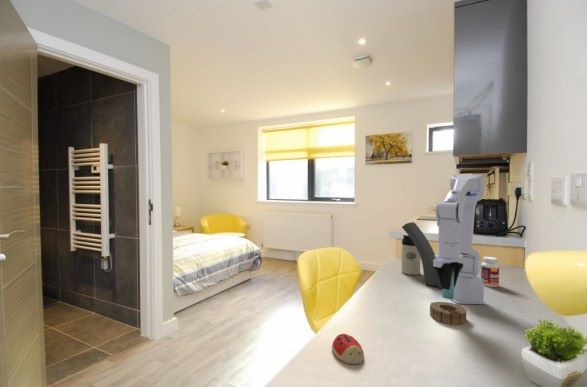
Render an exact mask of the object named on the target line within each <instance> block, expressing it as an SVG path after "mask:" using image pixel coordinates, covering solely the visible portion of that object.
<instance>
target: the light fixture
mask: <svg viewBox="0 0 587 387" xmlns="http://www.w3.org/2000/svg"><path fill="white" fill-rule="evenodd" d="M401 228H402V229H403V231H404V233H407V234H408V235H409V237H410V238H411V239H412V241H413V243H414V244H415V246H416V248H417V250H418V252H419V254H420V261H421V263H422V265H421V266H422V269H423V281H424V285H425V286H432V287H437V288H438V289H439V290H443V288H441V284H440V280H439V277H438V274H437V272H436V270H435V268H434V266H433V260H434V259H436V257H434V255H436V252H435V251H434V250H433V247H432V246H431V244H430V242H429V240H428V239H427V237H426V236H425V234H424V233H423V231H422V230H421V228H419V226H418V225H417V223H415V222H413V221H412V222H407V223H405V224H403V225H402V226H401Z"/></svg>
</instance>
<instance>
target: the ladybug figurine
mask: <svg viewBox="0 0 587 387" xmlns="http://www.w3.org/2000/svg"><path fill="white" fill-rule="evenodd" d="M331 350H332V353H333V355H334V356H335V357H336V358H338V360H339V361H341V362H343V363H345V364H349V365H358V364H361V363H362V362H363V361H364V359H365V353H364V352H365V351H364V350H363V348H362V345H361V344H360V343H359V342H358V340H357V339H355V338H354V336H352V335H350V334H346V333H341V334H338V335H337V336H336V337H335V338H334V340H333V341H332V346H331Z"/></svg>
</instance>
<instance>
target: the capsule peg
mask: <svg viewBox="0 0 587 387" xmlns="http://www.w3.org/2000/svg"><path fill="white" fill-rule="evenodd" d="M442 298H443V299H446V300H451V299H454V272H453V274H452V278H451V285H450V289H449V290H447V289H442Z"/></svg>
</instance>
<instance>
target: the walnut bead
mask: <svg viewBox="0 0 587 387" xmlns="http://www.w3.org/2000/svg"><path fill="white" fill-rule="evenodd" d="M429 316H430V318H432V319H433V320H435V321H437V322H439V323H442V324H447V325H454V326H455V325H456V326H460V325H464V324H467V309H466V308H465V307H463V306H462V305H461V304H457V303H453V302H447V301H435V302H434V301H433V302H431V303H430V304H429Z"/></svg>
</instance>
